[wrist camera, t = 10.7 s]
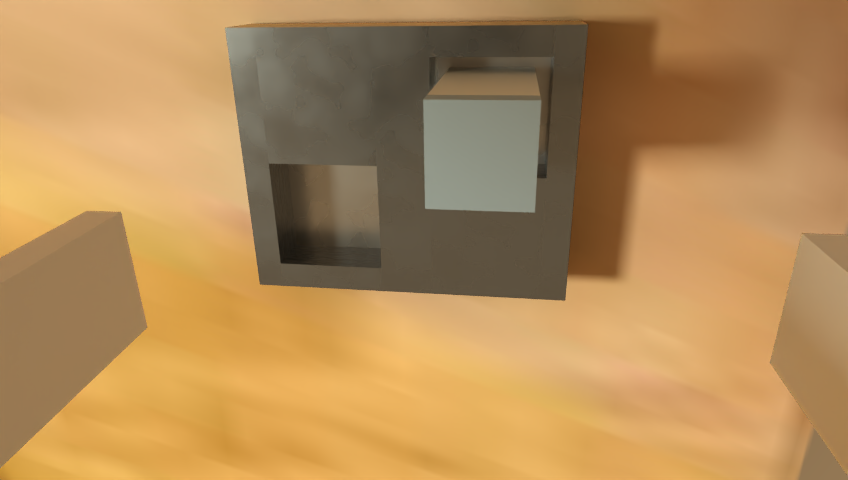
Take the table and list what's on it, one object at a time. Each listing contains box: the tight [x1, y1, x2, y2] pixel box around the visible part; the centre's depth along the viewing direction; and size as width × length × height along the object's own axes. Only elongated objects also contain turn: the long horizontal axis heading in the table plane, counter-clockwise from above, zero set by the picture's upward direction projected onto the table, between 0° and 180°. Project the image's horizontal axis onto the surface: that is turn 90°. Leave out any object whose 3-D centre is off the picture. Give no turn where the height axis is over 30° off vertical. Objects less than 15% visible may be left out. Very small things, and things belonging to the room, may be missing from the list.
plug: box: [423, 67, 541, 213], centre depth 25 cm, size 4×4×9 cm
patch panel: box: [225, 21, 588, 300], centre depth 30 cm, size 16×13×3 cm
